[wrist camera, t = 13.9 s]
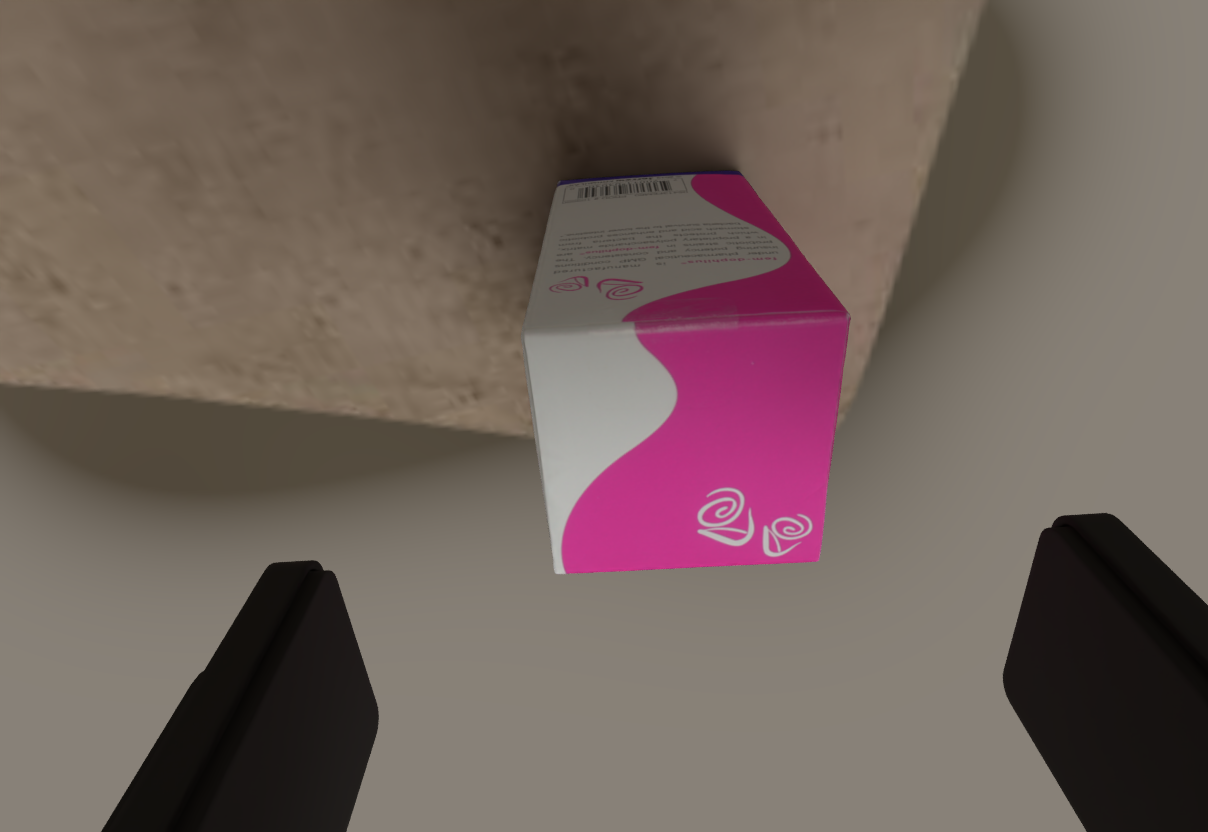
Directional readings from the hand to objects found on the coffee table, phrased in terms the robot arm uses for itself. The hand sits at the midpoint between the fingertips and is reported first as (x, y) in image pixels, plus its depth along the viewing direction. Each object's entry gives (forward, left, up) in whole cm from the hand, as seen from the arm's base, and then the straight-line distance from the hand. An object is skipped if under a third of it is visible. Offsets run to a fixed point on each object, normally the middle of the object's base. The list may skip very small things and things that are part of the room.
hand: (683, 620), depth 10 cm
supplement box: (0, 0, -16) cm, 16 cm away
